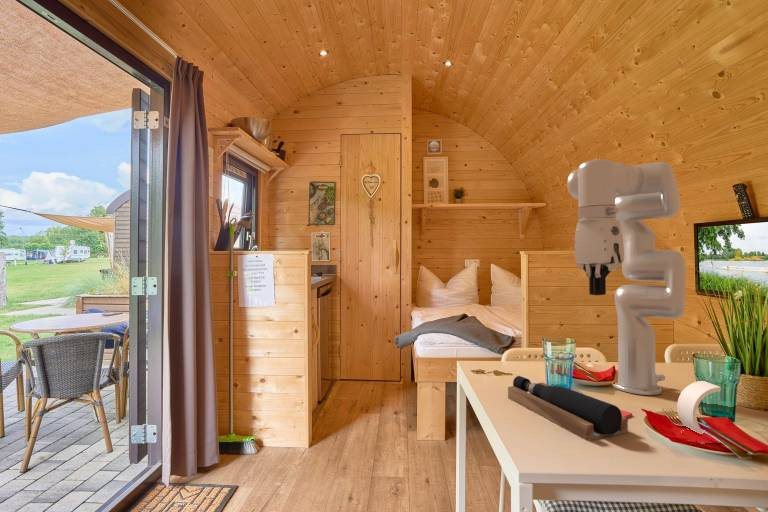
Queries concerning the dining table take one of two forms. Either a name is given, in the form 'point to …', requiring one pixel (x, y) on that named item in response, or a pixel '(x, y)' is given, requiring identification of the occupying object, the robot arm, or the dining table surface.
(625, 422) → the cradle
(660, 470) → the dining table surface
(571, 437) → the dining table surface
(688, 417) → the white crescent arch
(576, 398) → the wine bottle
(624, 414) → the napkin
